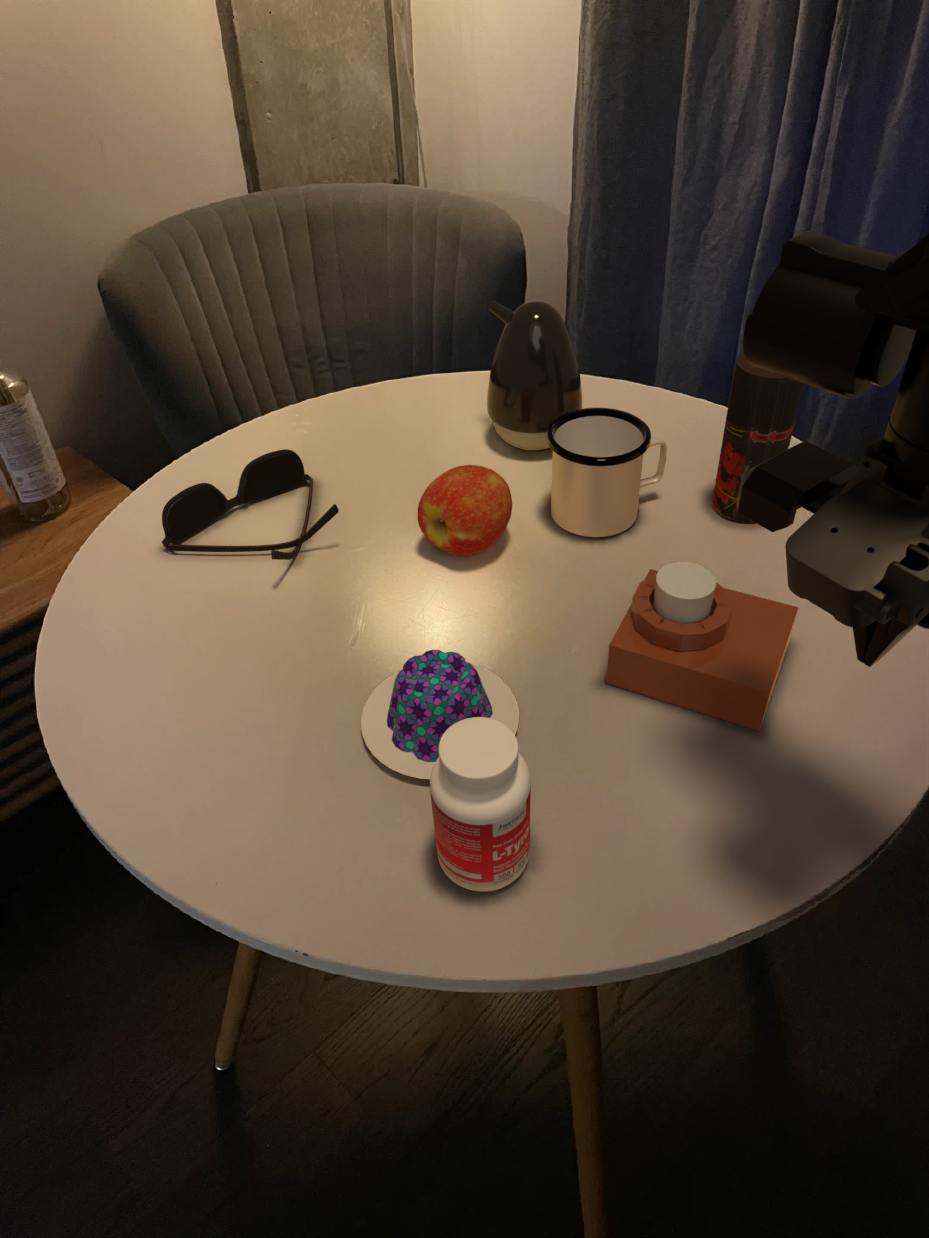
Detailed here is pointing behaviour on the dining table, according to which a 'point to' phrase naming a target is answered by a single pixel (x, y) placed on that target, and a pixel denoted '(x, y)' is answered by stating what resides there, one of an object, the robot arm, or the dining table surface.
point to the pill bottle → (481, 805)
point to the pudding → (430, 709)
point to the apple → (465, 509)
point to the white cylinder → (684, 592)
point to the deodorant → (753, 429)
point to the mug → (599, 469)
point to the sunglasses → (255, 484)
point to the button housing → (704, 654)
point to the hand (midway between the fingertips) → (868, 660)
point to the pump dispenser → (532, 374)
